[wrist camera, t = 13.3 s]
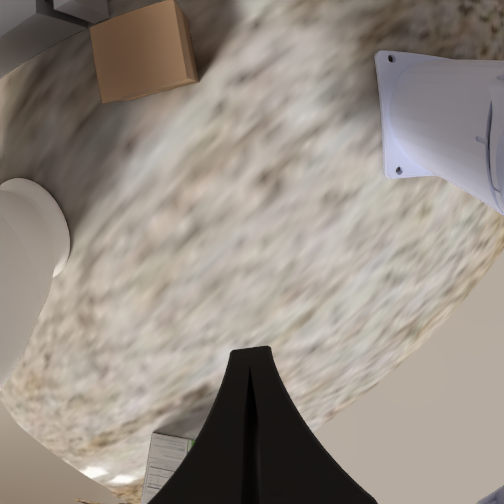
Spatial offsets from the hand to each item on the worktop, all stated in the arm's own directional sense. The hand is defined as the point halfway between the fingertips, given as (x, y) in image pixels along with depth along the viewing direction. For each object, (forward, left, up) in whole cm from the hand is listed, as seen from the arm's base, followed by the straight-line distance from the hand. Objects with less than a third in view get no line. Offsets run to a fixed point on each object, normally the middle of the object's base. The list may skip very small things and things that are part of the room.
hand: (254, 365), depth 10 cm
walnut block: (+3, -12, -10) cm, 16 cm away
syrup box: (+15, +28, -10) cm, 33 cm away
